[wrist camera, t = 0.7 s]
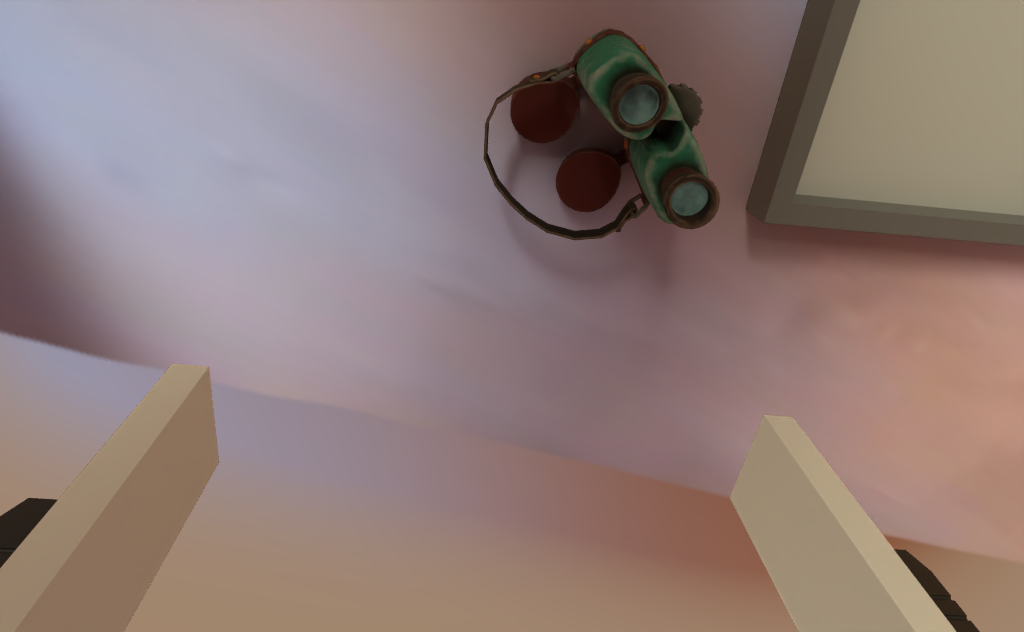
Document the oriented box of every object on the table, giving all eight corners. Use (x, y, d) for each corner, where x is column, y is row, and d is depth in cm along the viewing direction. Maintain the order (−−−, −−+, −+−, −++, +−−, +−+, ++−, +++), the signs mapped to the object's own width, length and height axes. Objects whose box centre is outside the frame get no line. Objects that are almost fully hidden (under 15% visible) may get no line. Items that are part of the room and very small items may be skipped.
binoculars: (437, 169, 23) (675, 8, 20) (465, 108, 32) (631, -8, 29) (558, 333, 27) (774, 220, 24) (552, 238, 36) (708, 147, 33)
